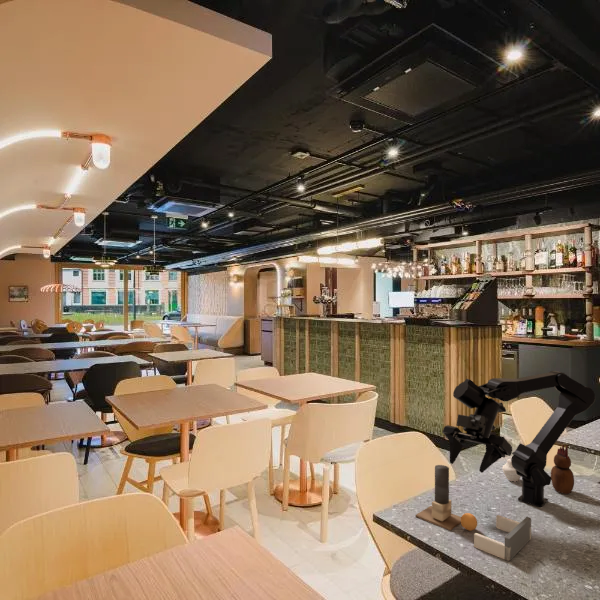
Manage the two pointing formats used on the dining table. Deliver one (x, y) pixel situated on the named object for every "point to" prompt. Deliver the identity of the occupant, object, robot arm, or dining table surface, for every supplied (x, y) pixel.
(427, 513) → the brown rectangular plate
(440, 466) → the ball
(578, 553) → the dining table surface
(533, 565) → the dining table surface
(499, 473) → the dining table surface
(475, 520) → the ball
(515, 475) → the muffin
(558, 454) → the wooden figurine
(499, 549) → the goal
